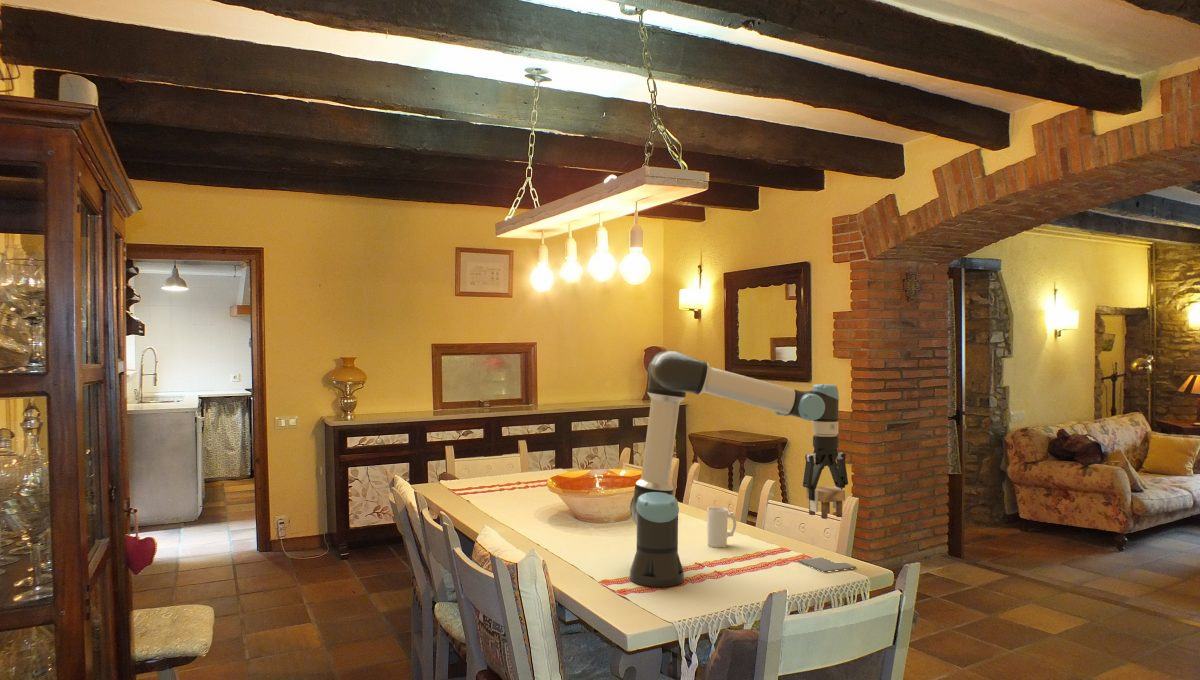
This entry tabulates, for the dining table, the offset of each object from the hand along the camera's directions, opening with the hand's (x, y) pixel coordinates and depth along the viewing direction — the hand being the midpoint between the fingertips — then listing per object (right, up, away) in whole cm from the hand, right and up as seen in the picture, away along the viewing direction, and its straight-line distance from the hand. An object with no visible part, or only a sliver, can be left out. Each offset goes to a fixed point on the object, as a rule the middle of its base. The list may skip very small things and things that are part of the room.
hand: (825, 509), depth 231 cm
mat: (0, -17, -1) cm, 17 cm away
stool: (0, -2, 0) cm, 2 cm away
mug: (-28, -17, +22) cm, 40 cm away
